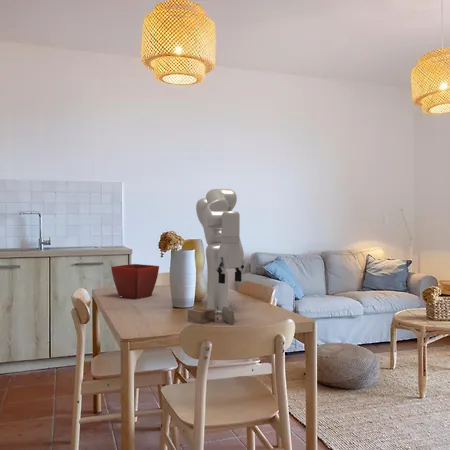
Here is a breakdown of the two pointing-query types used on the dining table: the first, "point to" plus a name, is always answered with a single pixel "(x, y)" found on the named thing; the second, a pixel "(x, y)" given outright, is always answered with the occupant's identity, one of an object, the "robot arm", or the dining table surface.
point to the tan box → (201, 315)
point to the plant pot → (135, 279)
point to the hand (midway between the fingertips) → (230, 282)
